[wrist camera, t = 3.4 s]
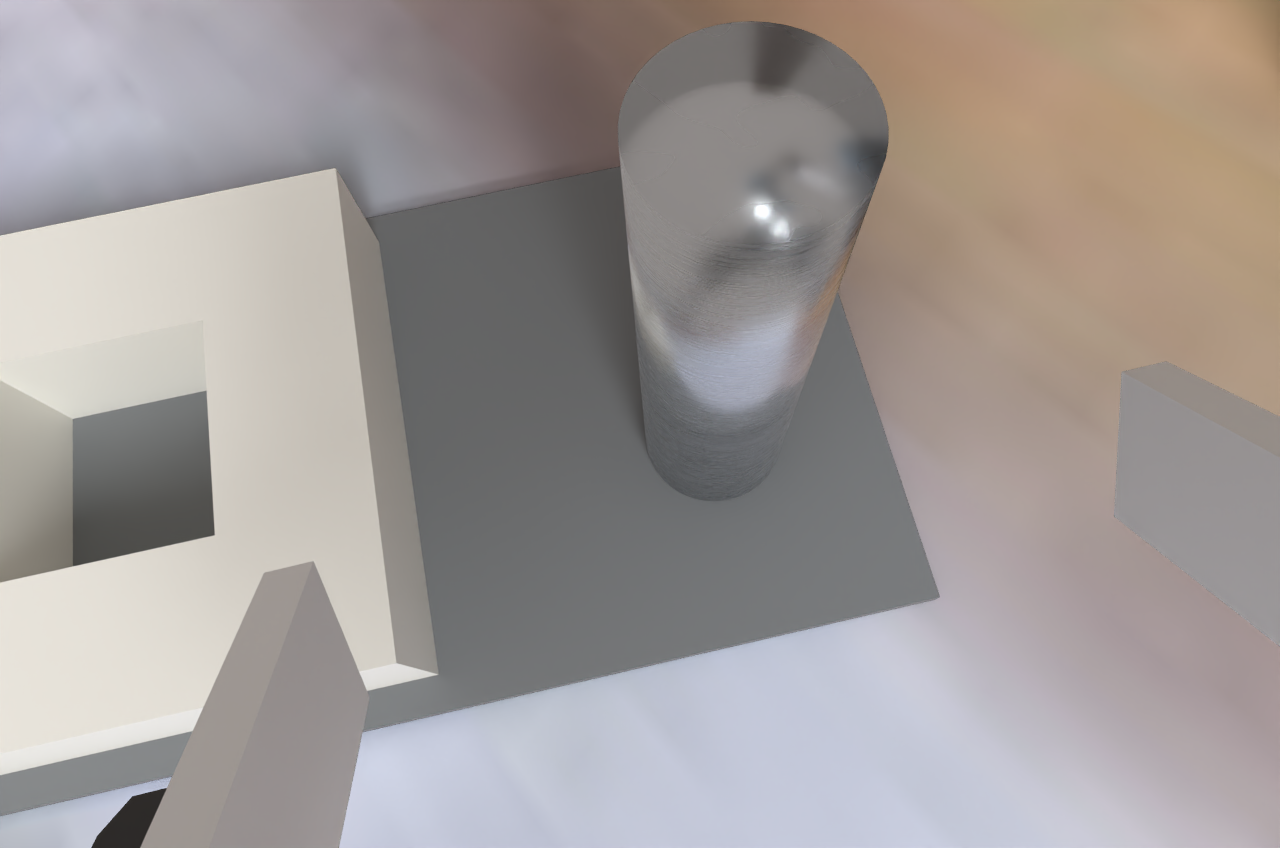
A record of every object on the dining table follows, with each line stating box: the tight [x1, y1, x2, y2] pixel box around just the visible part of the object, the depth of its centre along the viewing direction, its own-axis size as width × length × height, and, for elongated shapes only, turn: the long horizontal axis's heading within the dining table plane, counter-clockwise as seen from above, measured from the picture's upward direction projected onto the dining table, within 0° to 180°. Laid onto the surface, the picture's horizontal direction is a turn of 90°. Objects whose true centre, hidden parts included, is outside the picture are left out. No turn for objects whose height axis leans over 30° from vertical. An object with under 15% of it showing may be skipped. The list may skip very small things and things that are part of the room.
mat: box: [0, 166, 940, 816], centre depth 27 cm, size 30×16×1 cm, turn 102°
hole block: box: [0, 168, 439, 775], centre depth 24 cm, size 14×14×4 cm
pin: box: [618, 21, 888, 501], centre depth 20 cm, size 4×4×14 cm
